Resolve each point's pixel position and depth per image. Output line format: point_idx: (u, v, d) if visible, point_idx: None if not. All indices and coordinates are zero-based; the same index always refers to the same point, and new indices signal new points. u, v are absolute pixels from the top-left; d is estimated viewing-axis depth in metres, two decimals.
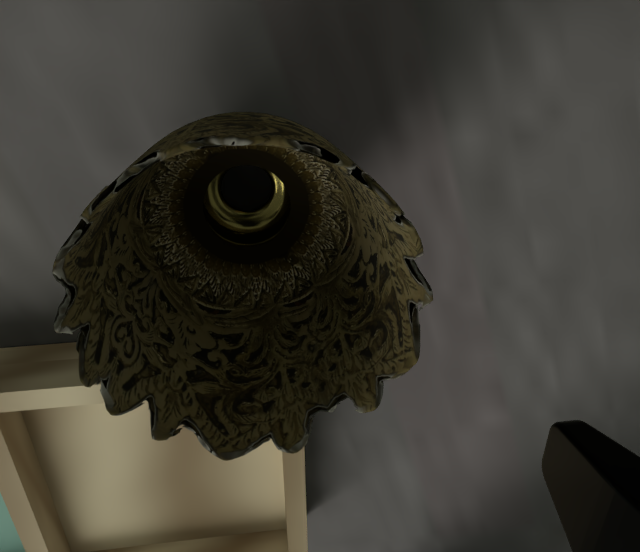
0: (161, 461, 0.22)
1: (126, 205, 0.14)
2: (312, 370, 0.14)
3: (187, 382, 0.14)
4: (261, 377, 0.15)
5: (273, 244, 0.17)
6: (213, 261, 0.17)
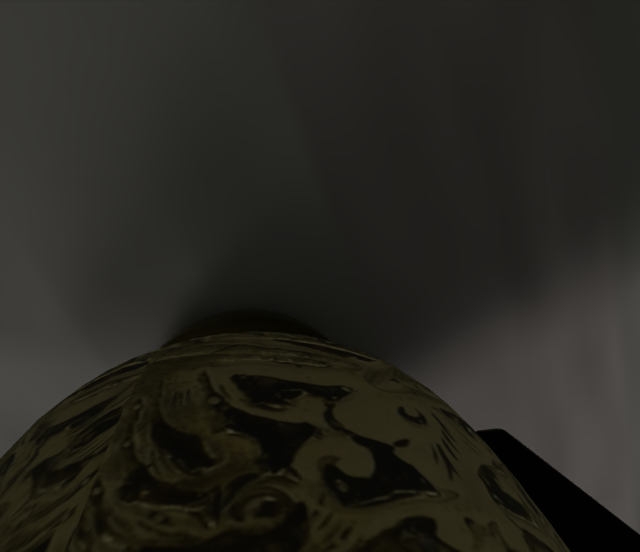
0: None
1: None
2: None
3: None
4: None
5: None
6: None
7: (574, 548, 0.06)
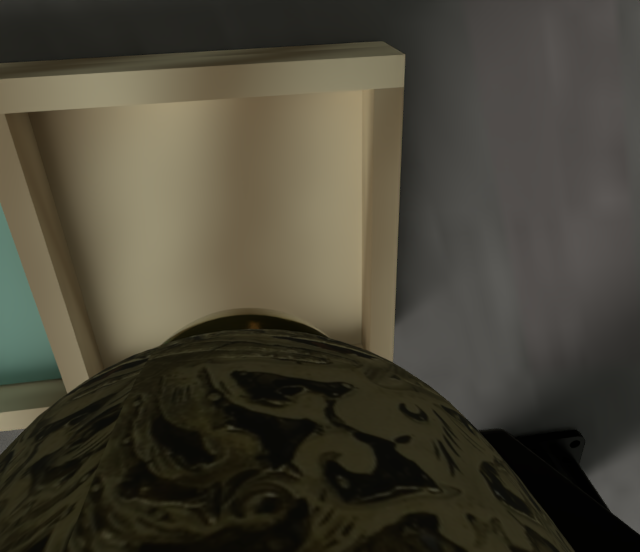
0: (214, 235, 0.18)
1: None
2: None
3: None
4: None
5: None
6: None
7: (574, 548, 0.06)
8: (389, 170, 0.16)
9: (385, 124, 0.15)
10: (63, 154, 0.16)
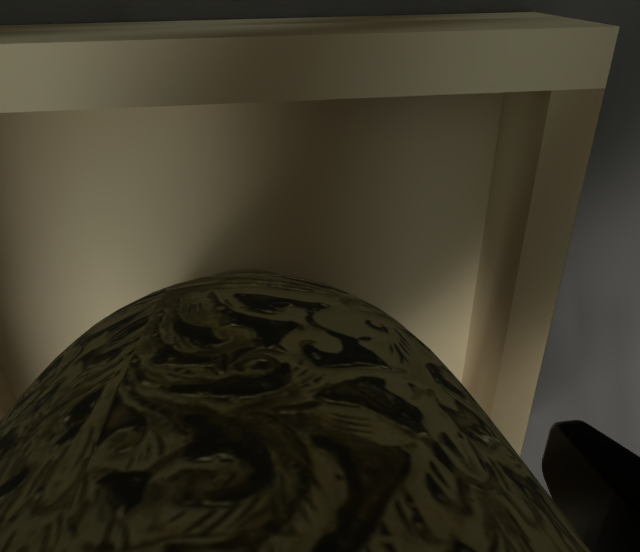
0: None
1: None
2: None
3: None
4: None
5: None
6: None
7: None
8: (552, 234, 0.09)
9: (560, 155, 0.08)
10: None
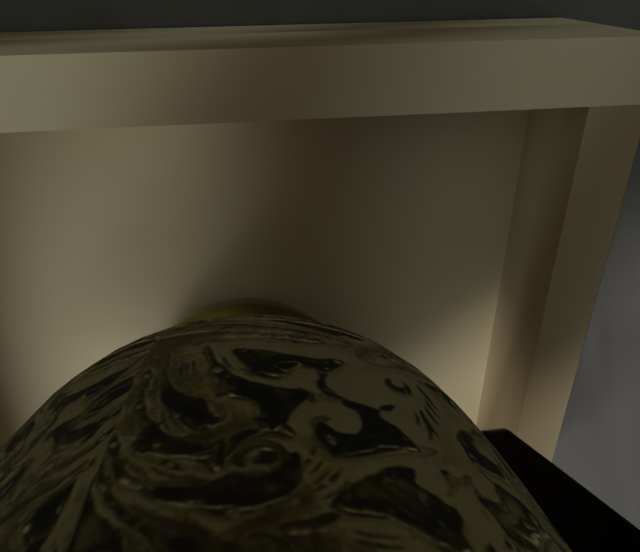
0: None
1: None
2: None
3: None
4: None
5: None
6: None
7: (579, 547, 0.06)
8: (585, 263, 0.08)
9: (596, 178, 0.07)
10: None
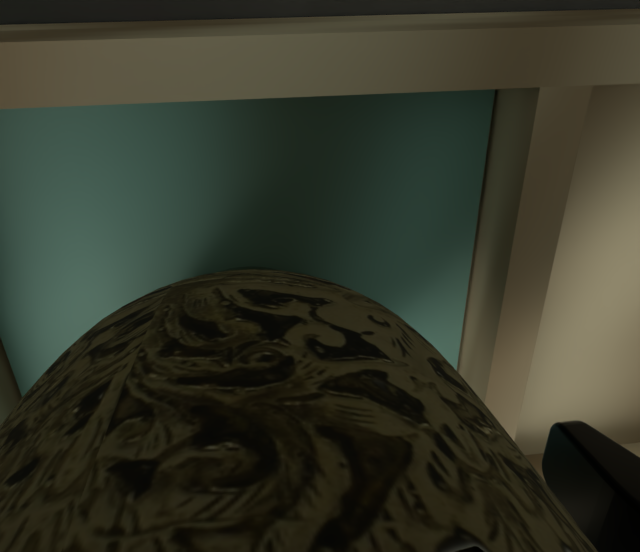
0: None
1: None
2: None
3: None
4: None
5: None
6: None
7: None
8: None
9: None
10: None
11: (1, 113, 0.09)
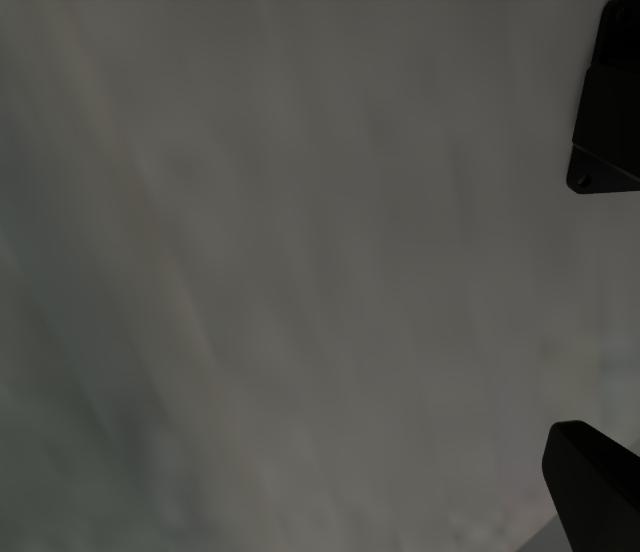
0: None
1: None
2: None
3: None
4: None
5: None
6: None
7: None
8: None
9: None
10: None
11: None
